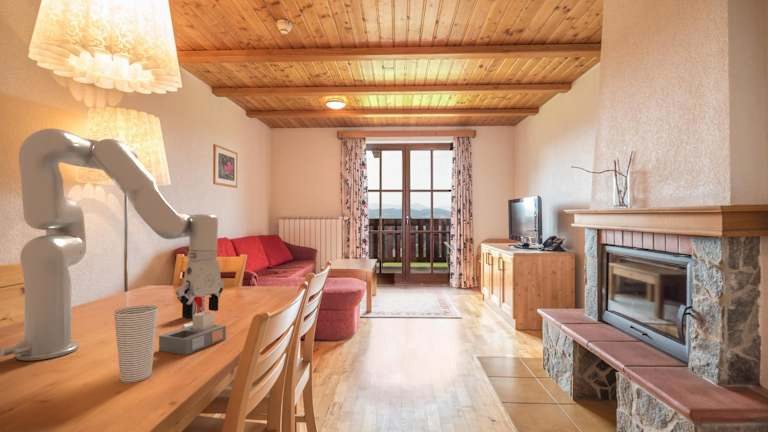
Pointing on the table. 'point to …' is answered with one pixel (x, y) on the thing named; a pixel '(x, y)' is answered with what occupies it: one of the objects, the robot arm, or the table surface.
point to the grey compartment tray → (191, 339)
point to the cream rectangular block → (203, 321)
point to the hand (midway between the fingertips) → (200, 313)
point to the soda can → (198, 304)
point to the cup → (135, 341)
